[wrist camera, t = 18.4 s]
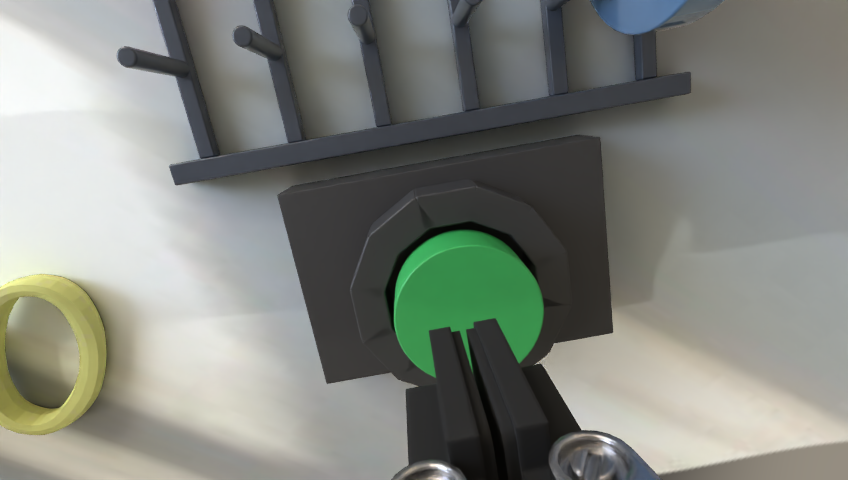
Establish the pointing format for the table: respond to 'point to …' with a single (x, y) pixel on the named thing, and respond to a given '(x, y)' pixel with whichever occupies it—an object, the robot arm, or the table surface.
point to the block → (441, 212)
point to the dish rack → (383, 90)
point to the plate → (651, 14)
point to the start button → (465, 294)
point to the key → (24, 417)
